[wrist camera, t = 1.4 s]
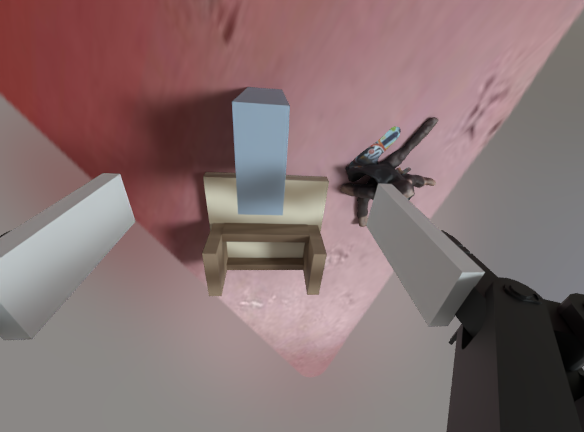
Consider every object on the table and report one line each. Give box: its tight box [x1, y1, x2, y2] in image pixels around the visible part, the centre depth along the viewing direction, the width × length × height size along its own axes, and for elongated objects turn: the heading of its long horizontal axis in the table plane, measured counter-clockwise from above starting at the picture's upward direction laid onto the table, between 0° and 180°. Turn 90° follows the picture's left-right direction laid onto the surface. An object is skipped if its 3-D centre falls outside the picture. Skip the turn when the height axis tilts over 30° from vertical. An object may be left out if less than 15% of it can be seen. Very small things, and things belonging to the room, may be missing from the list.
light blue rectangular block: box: [232, 87, 290, 215], centre depth 22 cm, size 8×4×12 cm, turn 176°
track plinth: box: [202, 172, 329, 296], centre depth 30 cm, size 14×15×8 cm
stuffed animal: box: [341, 117, 438, 227], centre depth 31 cm, size 12×10×12 cm
